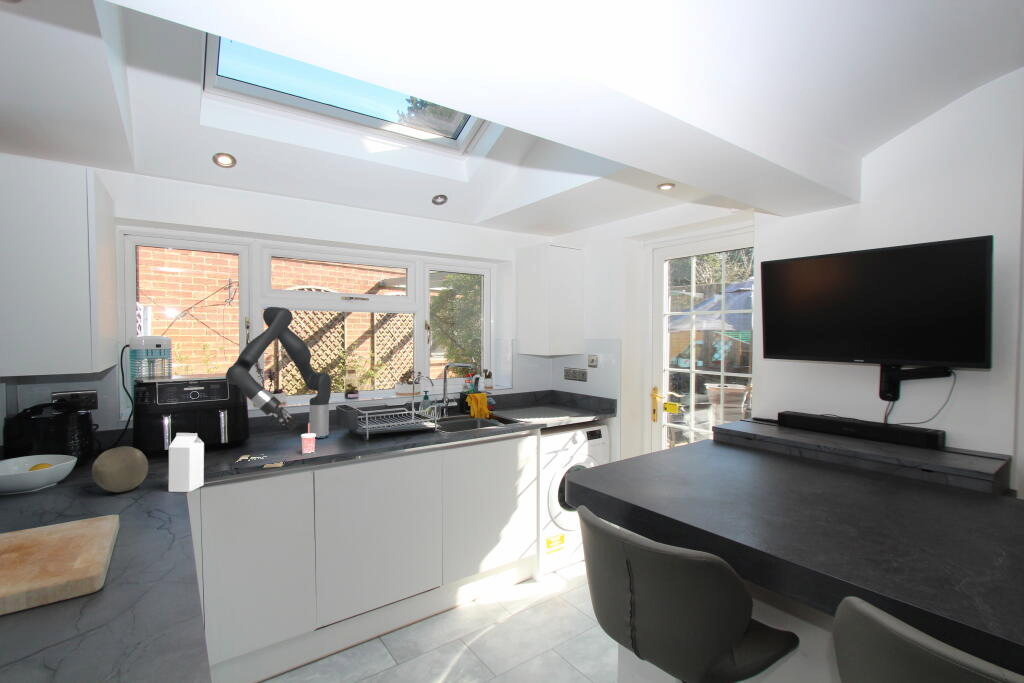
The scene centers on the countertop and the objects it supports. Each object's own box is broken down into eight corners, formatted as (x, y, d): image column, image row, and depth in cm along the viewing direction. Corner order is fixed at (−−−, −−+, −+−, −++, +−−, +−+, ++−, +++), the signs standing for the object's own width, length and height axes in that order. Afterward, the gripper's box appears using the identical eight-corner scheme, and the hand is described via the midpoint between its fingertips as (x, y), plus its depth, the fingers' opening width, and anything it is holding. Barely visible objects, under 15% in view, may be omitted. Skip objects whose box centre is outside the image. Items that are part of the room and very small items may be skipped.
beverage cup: (311, 452, 213) (311, 421, 212) (318, 454, 209) (318, 423, 208) (298, 455, 208) (298, 423, 208) (305, 457, 204) (305, 425, 204)
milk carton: (189, 492, 157) (189, 435, 157) (168, 492, 158) (168, 435, 157) (203, 485, 164) (204, 431, 164) (183, 485, 165) (183, 430, 164)
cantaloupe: (104, 488, 161) (104, 443, 160) (154, 484, 166) (154, 441, 165) (83, 502, 147) (83, 453, 147) (138, 497, 152) (139, 450, 152)
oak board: (242, 457, 202) (242, 455, 202) (288, 455, 207) (288, 452, 207) (230, 469, 184) (230, 466, 184) (281, 466, 190) (281, 463, 190)
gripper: (269, 397, 197) (299, 424, 200) (276, 393, 211) (303, 418, 214) (255, 410, 196) (285, 437, 199) (262, 405, 209) (290, 430, 213)
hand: (295, 427), depth 206 cm, fingers open, 8 cm apart
